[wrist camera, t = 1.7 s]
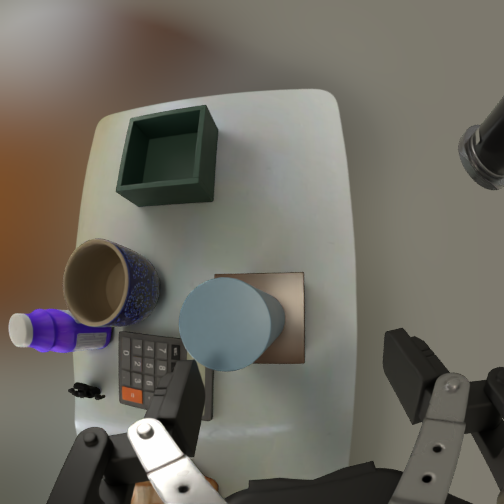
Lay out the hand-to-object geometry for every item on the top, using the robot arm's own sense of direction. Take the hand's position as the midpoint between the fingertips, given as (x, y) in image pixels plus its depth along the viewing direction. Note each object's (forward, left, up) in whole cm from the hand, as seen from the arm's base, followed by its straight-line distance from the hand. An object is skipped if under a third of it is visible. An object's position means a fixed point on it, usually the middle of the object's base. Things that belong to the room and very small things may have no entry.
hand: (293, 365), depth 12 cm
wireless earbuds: (+30, -16, -29) cm, 45 cm away
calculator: (+18, -9, -29) cm, 35 cm away
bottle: (+22, -22, -29) cm, 43 cm away
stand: (+1, -4, -29) cm, 29 cm away
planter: (+12, -21, -29) cm, 38 cm away
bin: (-6, -30, -29) cm, 42 cm away
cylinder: (+1, -4, -18) cm, 18 cm away
